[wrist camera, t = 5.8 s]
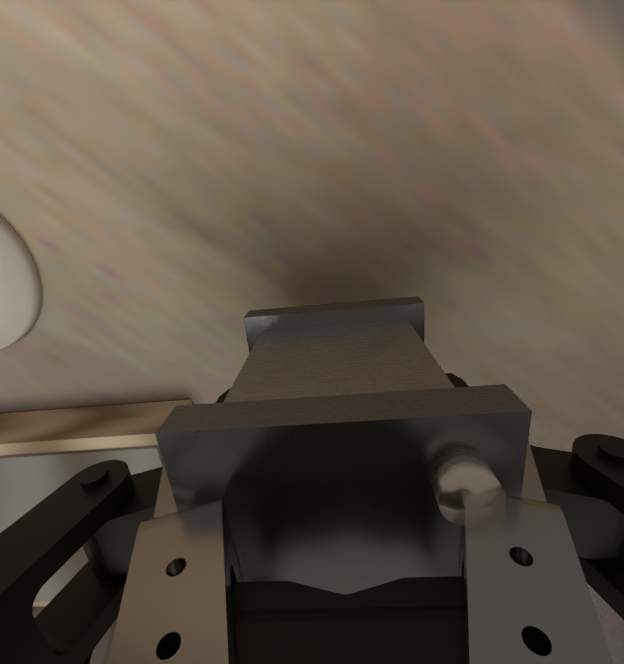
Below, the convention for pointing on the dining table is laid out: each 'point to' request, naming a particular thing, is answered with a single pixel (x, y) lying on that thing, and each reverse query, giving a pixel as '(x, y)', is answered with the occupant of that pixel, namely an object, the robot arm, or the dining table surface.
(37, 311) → the white smooth dome part
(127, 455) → the wooden framed mirror
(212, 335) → the dining table surface
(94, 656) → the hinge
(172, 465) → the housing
